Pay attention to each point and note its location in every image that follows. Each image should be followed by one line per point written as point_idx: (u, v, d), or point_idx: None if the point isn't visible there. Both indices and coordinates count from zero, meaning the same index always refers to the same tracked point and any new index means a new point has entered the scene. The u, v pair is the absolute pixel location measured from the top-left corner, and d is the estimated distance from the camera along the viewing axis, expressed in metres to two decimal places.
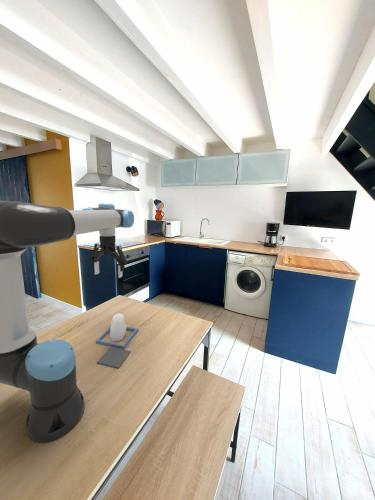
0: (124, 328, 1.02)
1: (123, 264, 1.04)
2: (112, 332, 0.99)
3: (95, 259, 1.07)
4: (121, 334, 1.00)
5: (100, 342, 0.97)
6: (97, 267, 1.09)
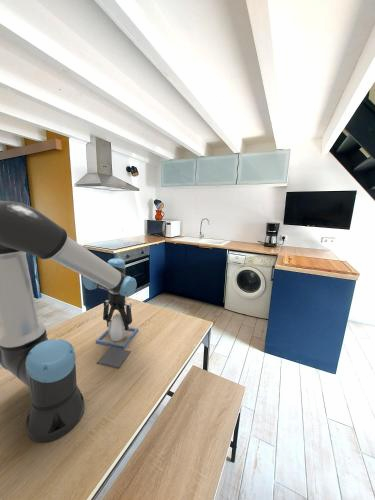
0: None
1: (128, 324, 0.99)
2: (112, 332, 0.99)
3: (108, 318, 1.01)
4: (121, 334, 1.00)
5: (100, 342, 0.97)
6: None
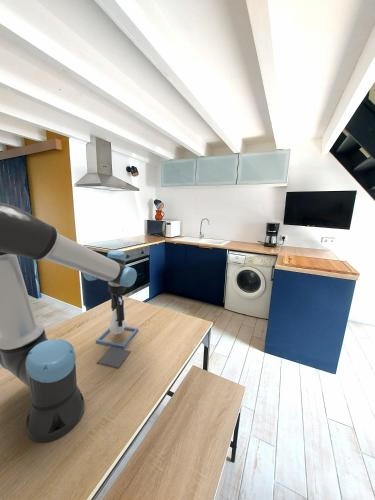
0: None
1: (118, 320, 0.95)
2: None
3: (112, 308, 1.03)
4: (115, 328, 0.98)
5: (100, 342, 0.97)
6: None
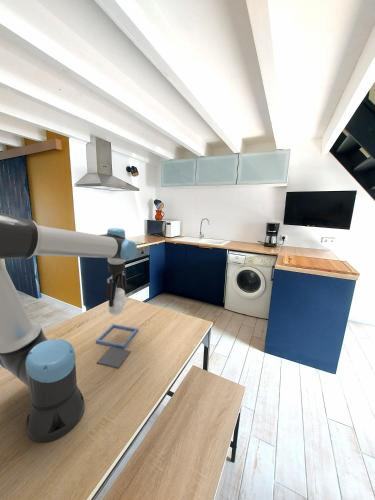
0: None
1: None
2: None
3: None
4: None
5: (100, 342, 0.97)
6: None
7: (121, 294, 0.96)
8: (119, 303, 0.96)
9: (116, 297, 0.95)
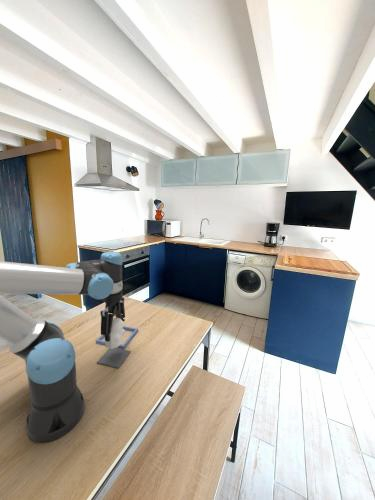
0: None
1: None
2: None
3: (116, 317, 0.90)
4: None
5: (100, 342, 0.97)
6: None
7: (119, 326, 0.84)
8: (117, 336, 0.84)
9: (113, 330, 0.83)
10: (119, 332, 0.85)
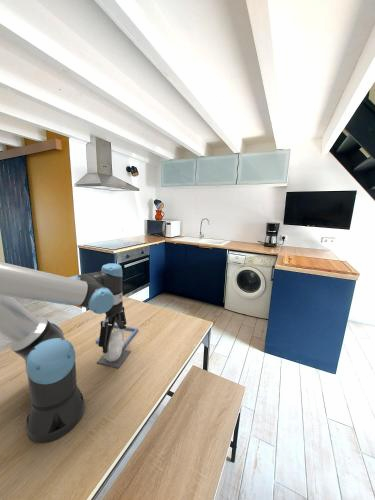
0: None
1: None
2: None
3: None
4: None
5: None
6: None
7: (118, 340, 0.85)
8: (116, 350, 0.85)
9: (112, 344, 0.84)
10: (118, 345, 0.86)
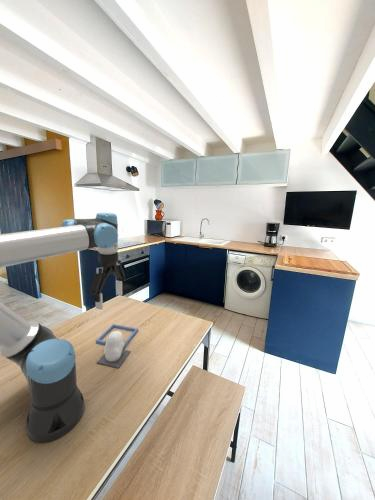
0: (110, 351, 0.85)
1: None
2: None
3: None
4: (105, 353, 0.86)
5: (100, 342, 0.97)
6: (118, 287, 0.93)
7: (119, 339, 0.85)
8: (116, 349, 0.85)
9: (113, 343, 0.85)
10: (119, 345, 0.86)
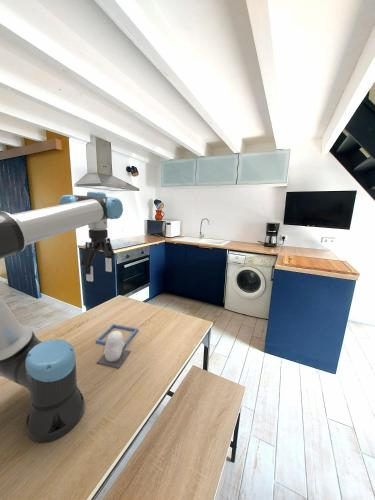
0: (110, 351, 0.85)
1: None
2: None
3: None
4: (105, 353, 0.86)
5: (100, 342, 0.97)
6: (108, 264, 0.99)
7: (119, 339, 0.85)
8: (116, 349, 0.85)
9: (113, 343, 0.85)
10: (119, 345, 0.86)
